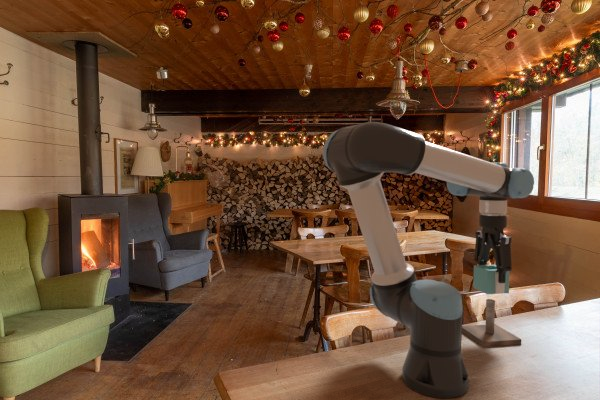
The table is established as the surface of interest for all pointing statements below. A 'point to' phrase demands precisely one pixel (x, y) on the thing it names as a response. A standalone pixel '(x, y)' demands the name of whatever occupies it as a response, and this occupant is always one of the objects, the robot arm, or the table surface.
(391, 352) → the table surface
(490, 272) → the teal open box
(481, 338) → the stand
